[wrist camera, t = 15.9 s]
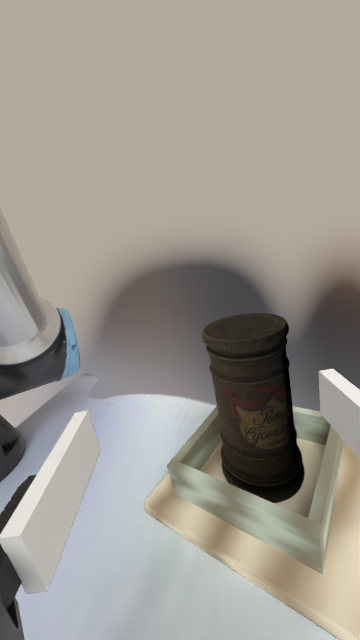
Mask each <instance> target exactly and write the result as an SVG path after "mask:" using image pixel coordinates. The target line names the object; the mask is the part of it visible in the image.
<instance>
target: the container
mask: <svg viewBox="0 0 360 640" xmlns="http://www.w3.org/2000/svg"><path fill="white" fill-rule="evenodd" d="M288 331H289V327H288V324H287V322H286V320H285V319H284V318H282V317H280V316H278V315H274V314H266V313H251V314H241V315H235V316H230V317H226V318H222V319H219V320H216V321H214V322H212V323H210V324H208V325H207V326H206V327H205V328H204V330H203V333H202V339H203V341H204V343H205V344H206V345H207V347H206V349H207V351H208V353H209V355H210V361H211V364H210V371H211V373H212V378H213V384H214V390H215V396H216V401H217V407H218V413H219V419H220V437H221V439H222V444H223V445H222V448H221V458H222V470H223V473H224V476H225V478H226V480H227V482H228V483H229V484H231V485H233V486H235V487H238V488H240V489H242V490H244V491H247V492H249V493H251V494H253V495H256V496H258V497H260V498H263V499H265V500H267V501H269V502H272V503H278V502H282V501H285V500H287V499H289V498H291V497H293V496H294V495H295V494H296V493H297V492H298V491H299V489H300V488H301V486H302V483H303V480H304V474H305V471H304V465H303V462H302V454H301V451H300V449H299V447H298V445H297V431H296V428H295V426H294V417H293V407H292V399H291V388H290V379H289V370H288V368H289V360H288V358H287V356H286V349H285V348H286V344H287V339H286V336H287V334H288Z"/></svg>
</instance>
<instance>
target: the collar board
mask: <svg viewBox="0 0 360 640" xmlns="http://www.w3.org/2000/svg"><path fill="white" fill-rule="evenodd" d="M292 407H293V406H292ZM293 417H294V426H295V428H296V431H297V445H298V447H299V449H300V451H301V454H302V462H303V465H304V471H305V474H304V480H303V483H302V486H301V488H300V489H299V491H298V492H297V493H296V494H295V495H294V496H293V497H291V498H289V499H287V500H285V501H282V502H278V503H272V502H269V501H267V500H265V499H263V498H260V497H258V496H256V495H253V494H251V493H249V492H247V491H244V490H242V489H240V488H238V487H235V486H233V485H231V484H229V483H228V482H227V480H226V478H225V476H224V473H223V470H222V458H221V448H222V445H223V444H222V439H221V437H220V419H219V413H218V407H216V408H215V409H214V411H213V412H212V413H211V414H210V415H209V416H208V418H207V419H206V420H205V421H204V422H203V424H202V425H201V426H200V427H199V428H198V429H197V431H196V432H195V433H194V434H193V435H192V437H191V438H190V439H189V440H188V441H187V442H186V444H185V445H184V446H183V447H182V448H181V450H180V451H179V452H178V453H177V454H176V455H175V457H174V458H173V459H172V460H171V461H170V463H169V464H168V465H167V467H168V471H169V472H168V473H167V475H166V476H165V477H164V478H163V480H162V481H161V482H160V483H159V484H158V486H157V487H156V488H155V489H154V491H153V492H152V493H151V494H150V495H149V497H148V498H147V499H146V500H145V502H144V505H145V509H146V512H147V513H148V514H149V515H151V516H152V517H154V518H156V519H157V520H159V521H160V522H162V523H163V524H165V525H166V526H168V527H169V528H171V529H172V530H174V531H175V532H177V533H178V534H180V535H181V536H183V537H184V538H186V539H187V540H189V541H190V542H192V543H194V544H195V545H197V546H198V547H200V548H201V549H203V550H204V551H206V552H207V553H209V554H210V555H212V556H213V557H215V558H216V559H218V560H219V561H221V562H222V563H224V564H225V565H227V566H228V567H230V568H232V569H233V570H235V571H236V572H238V573H239V574H241V575H242V576H244V577H245V578H247V579H248V580H250V581H251V582H253V583H254V584H256V585H257V586H259V587H260V588H262V589H263V590H265V591H266V592H268V593H270V594H271V595H273V596H274V597H276V598H277V599H279V600H280V601H282V602H283V603H285V604H286V605H288V606H289V607H291V608H292V609H294V610H295V611H297V612H298V613H300V614H301V615H303V616H304V617H306V618H308V619H309V620H311V621H312V622H314V623H315V624H317V625H318V626H320V627H321V628H323V629H324V630H326V631H327V632H329V633H330V634H332V635H333V636H335V637H336V638H338V639H339V640H360V459H359V458H358V457H357V455H356V454H355V453H354V452H353V451H352V450H351V448H350V447H349V446H348V445H347V444H346V443H345V441H344V440H343V439H342V438H341V437H340V436H339V434H338V433H337V432H336V431H335V430H334V429H333V427H332V426H331V425H330V424H329V423H328V422H327V420H326V419H325V418H324V417H323V416H322V415H321V412H318V411H313V410H308V409H303V408H299V407H293Z"/></svg>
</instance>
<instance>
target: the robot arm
mask: <svg viewBox="0 0 360 640" xmlns="http://www.w3.org/2000/svg"><path fill="white" fill-rule="evenodd" d="M79 368H80V354H79V349H78V346H77V338H76V334H75V330H74V326H73V323H72V320H71V317H70V314H69V312H68V311H67V310H66V309H59V308H55V307H54V305H52V304H51V303H50V302H48V301H47V300H45V299H43V298H40V297H39V295H38V292H37V290H36V288H35V286H34V283H33V281H32V279H31V277H30V274H29V272H28V270H27V268H26V265H25V263H24V261H23V258H22V256H21V254H20V252H19V249H18V247H17V245H16V243H15V240H14V238H13V236H12V234H11V231H10V229H9V227H8V225H7V222H6V220H5V218H4V215H3V213H2V211H1V209H0V400H1V399H3V398H7V397H10V396H13V395H16V394H18V393H22V392H24V391H28V390H30V389H33V388H36V387H39V386H42V385H45V384H48V383H51V382H54V381H61V380H62V379H63V378H65V377H67V376H70V375H73V374H75V373H76V372H77V371H78V370H79ZM319 387H320V412H321V415H322V416H323V417H324V418H325V419H326V420H327V422H328V423H329V424H330V425H331V426H332V427H333V429H334V430H335V431H336V432H337V433H338V434H339V436H340V437H341V438H342V439H343V440H344V441H345V443H346V444H347V445H348V446H349V447H350V448H351V450H352V451H353V452H354V453H355V454H356V455H357V457H358V458H359V459H360V390H359V389H358V388H357V387H355V386H354V385H353V384H352V383H350V382H349V381H348V380H346V379H345V378H344V377H343V376H341V375H340V374H339V373H338V372H336V371H335V370H334V369H328V370H323V371H319ZM24 450H25V445H24V442H23V439H22V437H21V435H20V433H19V432H18V431H17V430H16V429H15V428H14V427H13V426H12V425H11V424H10V423H8V421H6V420H5V419H4V418H3V417H2V416H1V415H0V481H1V480H2V479H3V478H4V477H5V476H6V475H8V474H9V472H10V471H11V470H12V469H13V468H14V467H15V466H16V465H17V463H18V462H19V460H20V459H21V457H22V455H23V453H24ZM100 450H101V448H100V445H99V442H98V439H97V436H96V433H95V430H94V427H93V424H92V421H91V418H90V415H89V412H88V410H87V411H81V412H76V413H74V415H73V417H72V418H71V420H70V422H69V423H68V425H67V427H66V428H65V430H64V431H63V433H62V435H61V436H60V438H59V440H58V441H57V443H56V444H55V446H54V448H53V449H52V451H51V453H50V454H49V456H48V457H47V459H46V461H45V462H44V464H43V466H42V467H41V469H40V471H39V472H38V474H37V475H33V476H29V477H28V478H27V479H26V480H25V481H24V482H23V483H22V484H21V485H20V486H19V487H18V489H17V490H16V492H15V493H14V495H13V496H12V498H11V501H9V502H8V504H7V505H6V507H5V510H4V511H3V512H2V513H1V515H0V640H24V634H23V629H22V623H21V618H20V612H19V607H18V602H17V600H16V598H15V595H16V593H17V591H18V589H19V587H20V584H22V586H23V588H24V590H25V592H26V593H27V594H31V593H38V592H46V591H48V589H49V586H50V584H51V581H52V578H53V576H54V573H55V570H56V568H57V565H58V562H59V560H60V557H61V554H62V552H63V549H64V546H65V544H66V541H67V538H68V536H69V533H70V530H71V528H72V525H73V522H74V520H75V517H76V514H77V512H78V509H79V506H80V504H81V501H82V498H83V496H84V493H85V490H86V488H87V485H88V482H89V480H90V477H91V474H92V472H93V469H94V466H95V464H96V461H97V458H98V456H99V453H100Z"/></svg>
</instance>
